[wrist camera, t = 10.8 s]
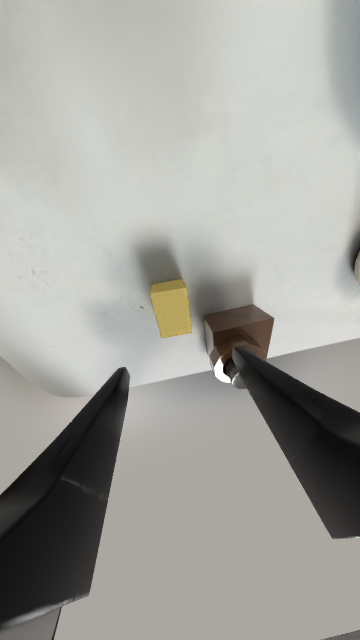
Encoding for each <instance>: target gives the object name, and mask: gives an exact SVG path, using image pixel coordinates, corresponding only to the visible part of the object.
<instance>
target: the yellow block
mask: <svg viewBox="0 0 360 640" xmlns="http://www.w3.org/2000/svg"><path fill="white" fill-rule="evenodd" d="M150 297H151V301H152V305H153V308H154V312H155V316H156V320H157V323H158V327H159V331H160V335H161V338H166V337H171V336H177V335H182V334H188V333H192V326H191V317H190V309H189V300H188V291H187V286H186V285H185V283H184V281H183V279H178V280H172V281H166V282H160V283H154V284H152V287H151V291H150Z"/></svg>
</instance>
